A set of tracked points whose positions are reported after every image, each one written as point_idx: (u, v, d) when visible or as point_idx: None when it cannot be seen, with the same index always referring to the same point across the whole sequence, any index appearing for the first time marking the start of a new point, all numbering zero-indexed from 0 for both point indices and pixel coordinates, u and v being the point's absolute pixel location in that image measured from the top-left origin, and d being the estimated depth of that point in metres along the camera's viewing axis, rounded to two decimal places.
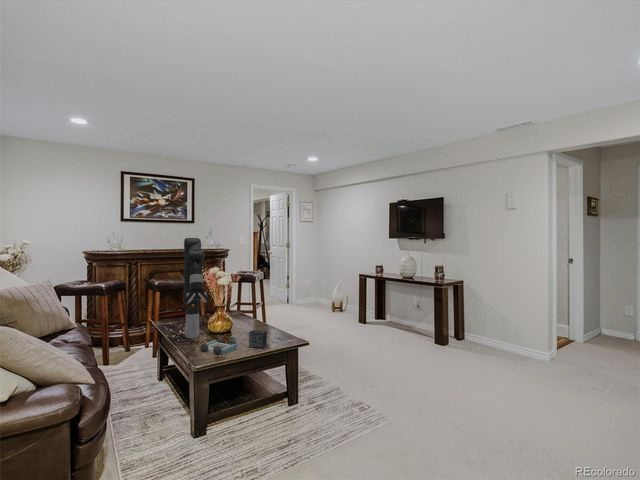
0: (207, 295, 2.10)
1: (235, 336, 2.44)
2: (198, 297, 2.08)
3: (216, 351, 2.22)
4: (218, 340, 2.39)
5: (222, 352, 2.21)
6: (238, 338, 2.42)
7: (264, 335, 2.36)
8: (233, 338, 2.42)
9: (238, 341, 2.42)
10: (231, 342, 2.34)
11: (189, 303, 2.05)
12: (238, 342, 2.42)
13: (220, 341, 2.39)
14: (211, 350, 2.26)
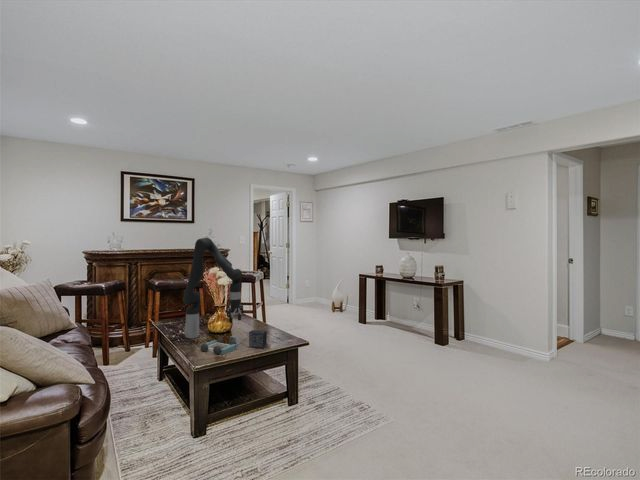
0: (242, 308, 2.48)
1: (235, 336, 2.44)
2: (237, 311, 2.44)
3: (216, 351, 2.22)
4: (218, 340, 2.39)
5: (222, 352, 2.21)
6: (238, 338, 2.42)
7: (264, 335, 2.36)
8: (233, 338, 2.42)
9: (238, 341, 2.42)
10: (231, 342, 2.34)
11: (231, 317, 2.40)
12: (238, 342, 2.42)
13: (220, 341, 2.39)
14: (211, 350, 2.26)
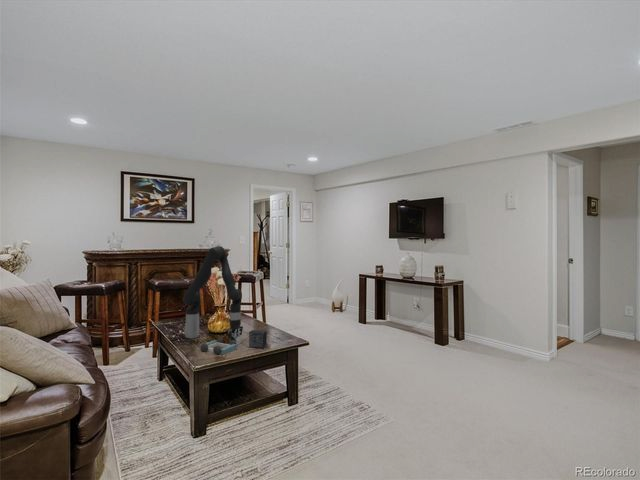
0: (241, 330, 2.48)
1: (235, 336, 2.44)
2: (236, 331, 2.44)
3: (216, 351, 2.22)
4: (218, 340, 2.39)
5: (222, 352, 2.21)
6: (238, 338, 2.42)
7: (264, 335, 2.36)
8: None
9: (238, 340, 2.42)
10: (231, 342, 2.34)
11: (233, 338, 2.41)
12: (238, 342, 2.42)
13: (220, 341, 2.39)
14: (211, 350, 2.26)
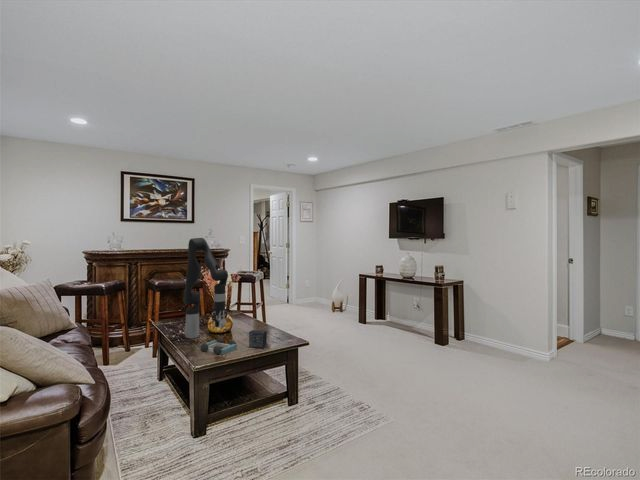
0: (226, 312, 2.35)
1: (220, 319, 2.31)
2: (221, 313, 2.31)
3: (216, 351, 2.22)
4: (218, 340, 2.39)
5: (222, 352, 2.21)
6: (223, 321, 2.30)
7: (264, 335, 2.36)
8: None
9: (223, 323, 2.30)
10: (231, 342, 2.34)
11: None
12: (223, 325, 2.30)
13: (220, 341, 2.39)
14: (211, 350, 2.26)
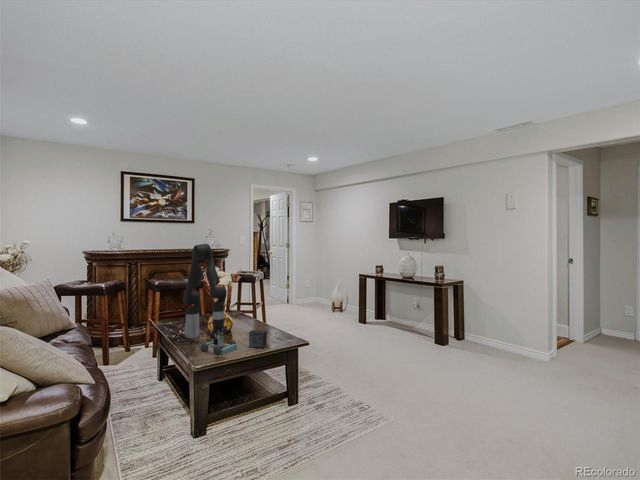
0: (225, 330, 2.35)
1: (218, 336, 2.31)
2: (220, 331, 2.31)
3: (216, 351, 2.22)
4: None
5: (222, 352, 2.21)
6: (221, 338, 2.29)
7: (264, 335, 2.36)
8: None
9: (221, 341, 2.29)
10: (231, 342, 2.34)
11: (216, 338, 2.28)
12: (221, 343, 2.29)
13: None
14: (211, 350, 2.26)
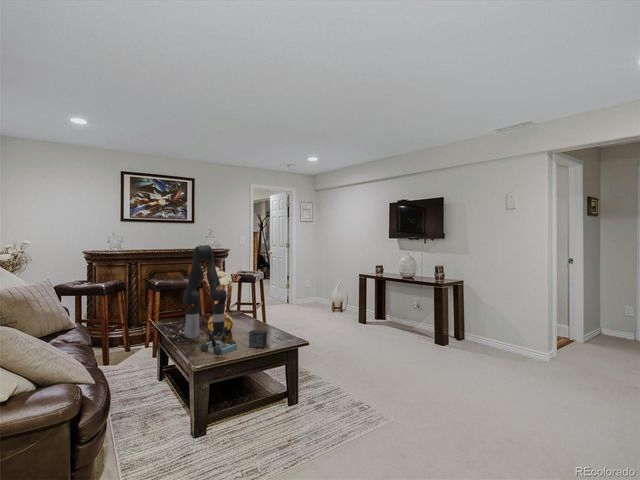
0: (226, 330, 2.36)
1: (218, 342, 2.31)
2: (220, 333, 2.31)
3: (216, 351, 2.22)
4: (218, 340, 2.39)
5: (222, 352, 2.21)
6: (222, 344, 2.30)
7: (264, 335, 2.36)
8: (216, 344, 2.29)
9: (222, 346, 2.30)
10: (231, 342, 2.34)
11: (214, 340, 2.27)
12: None
13: None
14: (211, 350, 2.26)
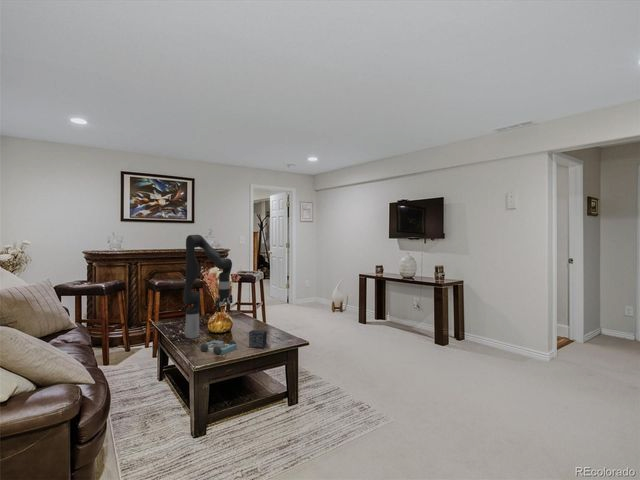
0: (231, 298, 2.46)
1: (218, 342, 2.31)
2: (226, 300, 2.42)
3: (216, 351, 2.22)
4: (218, 340, 2.39)
5: (222, 352, 2.21)
6: (221, 344, 2.30)
7: (264, 335, 2.36)
8: (216, 344, 2.29)
9: (222, 346, 2.30)
10: (231, 342, 2.34)
11: None
12: None
13: None
14: (211, 350, 2.26)
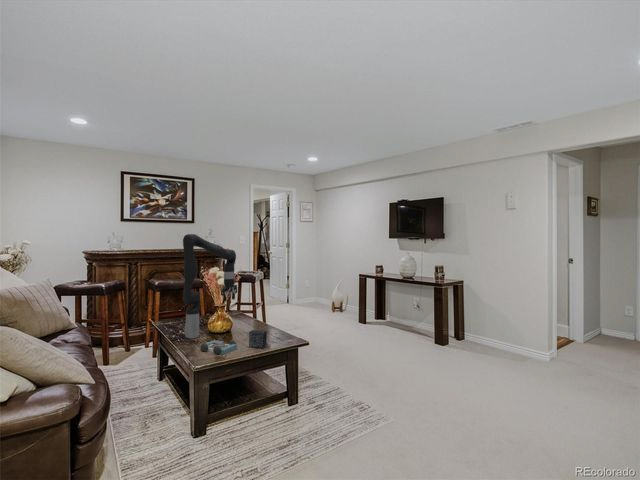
0: (236, 288, 2.57)
1: (218, 342, 2.31)
2: (231, 290, 2.53)
3: (216, 351, 2.22)
4: (218, 340, 2.39)
5: (222, 352, 2.21)
6: (222, 344, 2.30)
7: (264, 335, 2.36)
8: (216, 344, 2.29)
9: (222, 346, 2.30)
10: (231, 342, 2.34)
11: None
12: None
13: None
14: (211, 350, 2.26)
